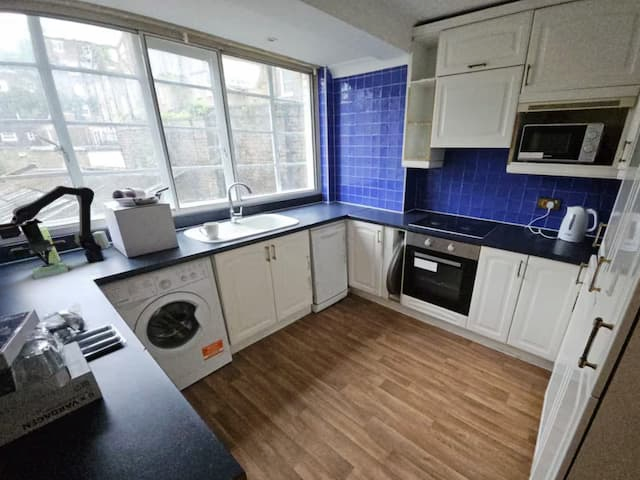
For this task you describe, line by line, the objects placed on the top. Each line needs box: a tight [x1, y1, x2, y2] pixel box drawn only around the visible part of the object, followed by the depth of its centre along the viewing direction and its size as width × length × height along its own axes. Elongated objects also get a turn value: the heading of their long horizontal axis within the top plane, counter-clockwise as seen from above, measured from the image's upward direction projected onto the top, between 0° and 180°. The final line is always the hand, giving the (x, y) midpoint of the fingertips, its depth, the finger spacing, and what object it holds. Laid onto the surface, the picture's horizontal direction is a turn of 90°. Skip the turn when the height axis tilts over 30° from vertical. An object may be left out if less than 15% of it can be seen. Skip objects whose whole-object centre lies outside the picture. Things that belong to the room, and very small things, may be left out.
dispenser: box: [32, 262, 69, 280], centre depth 147 cm, size 12×10×4 cm
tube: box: [39, 225, 61, 263], centre depth 157 cm, size 6×5×20 cm
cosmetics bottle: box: [92, 230, 111, 250], centre depth 180 cm, size 5×4×10 cm
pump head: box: [41, 263, 54, 267], centre depth 146 cm, size 4×4×2 cm
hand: (47, 264), depth 146 cm, fingers closed, pressing on pump head
